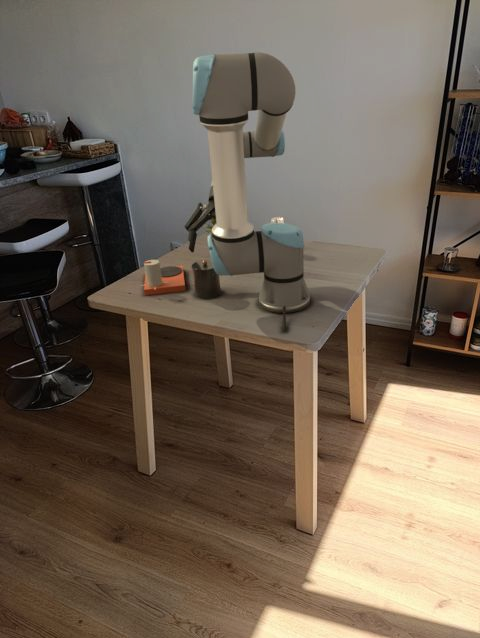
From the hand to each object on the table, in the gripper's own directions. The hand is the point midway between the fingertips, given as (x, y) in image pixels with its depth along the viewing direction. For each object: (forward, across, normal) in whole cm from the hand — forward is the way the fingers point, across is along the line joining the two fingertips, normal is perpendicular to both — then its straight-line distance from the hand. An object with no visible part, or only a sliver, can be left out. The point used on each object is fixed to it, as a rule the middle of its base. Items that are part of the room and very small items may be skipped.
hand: (211, 251), depth 152 cm
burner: (+4, +18, -10) cm, 21 cm away
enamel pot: (+13, 0, -4) cm, 13 cm away
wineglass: (-17, -13, -34) cm, 41 cm away
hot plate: (+8, +18, -9) cm, 22 cm away
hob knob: (+11, +18, -3) cm, 22 cm away
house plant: (-15, +9, -32) cm, 36 cm away
